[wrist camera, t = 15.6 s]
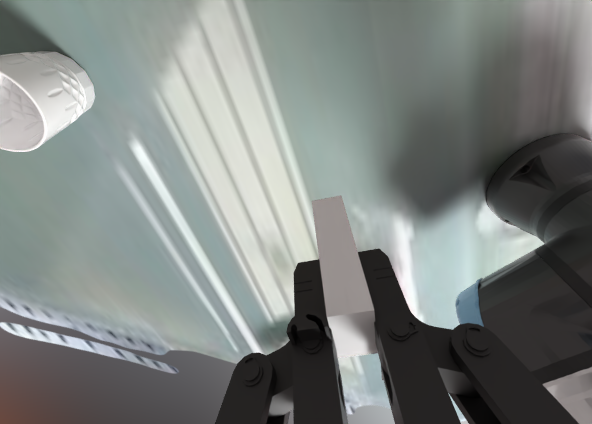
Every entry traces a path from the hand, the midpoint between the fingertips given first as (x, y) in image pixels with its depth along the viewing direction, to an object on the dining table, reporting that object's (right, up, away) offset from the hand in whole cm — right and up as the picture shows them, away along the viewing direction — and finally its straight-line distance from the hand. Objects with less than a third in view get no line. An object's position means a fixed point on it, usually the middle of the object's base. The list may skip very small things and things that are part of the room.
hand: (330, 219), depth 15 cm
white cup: (-29, +15, +18) cm, 37 cm away
